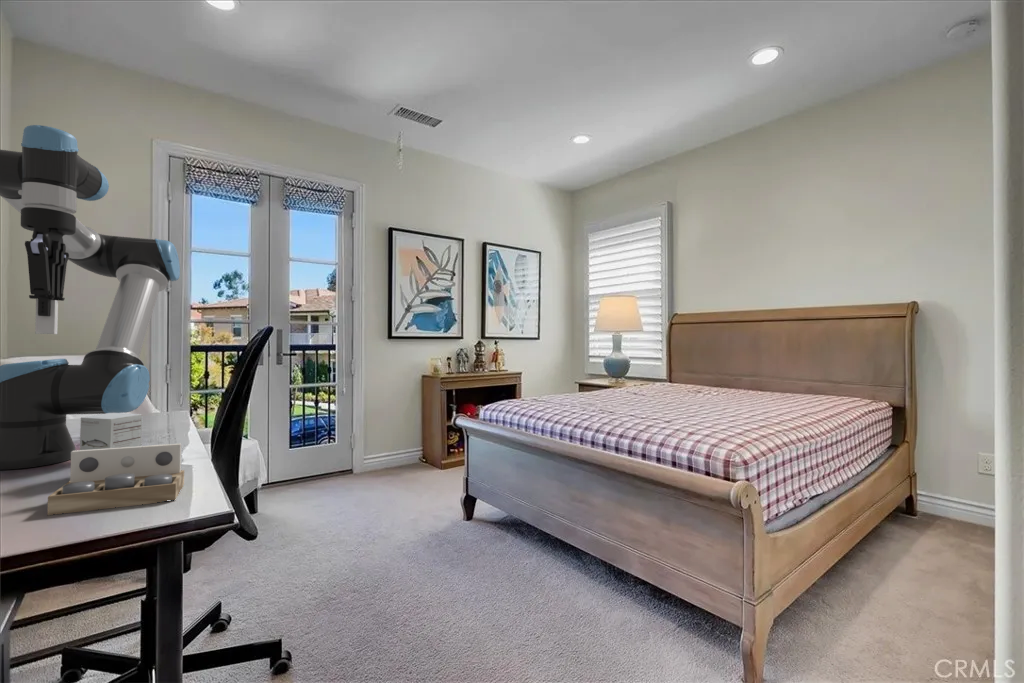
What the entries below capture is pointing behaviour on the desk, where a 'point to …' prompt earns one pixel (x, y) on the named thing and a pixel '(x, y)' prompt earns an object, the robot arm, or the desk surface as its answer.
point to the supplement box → (111, 431)
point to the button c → (158, 480)
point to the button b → (119, 481)
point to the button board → (114, 496)
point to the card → (125, 462)
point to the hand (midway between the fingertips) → (46, 333)
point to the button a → (79, 487)
